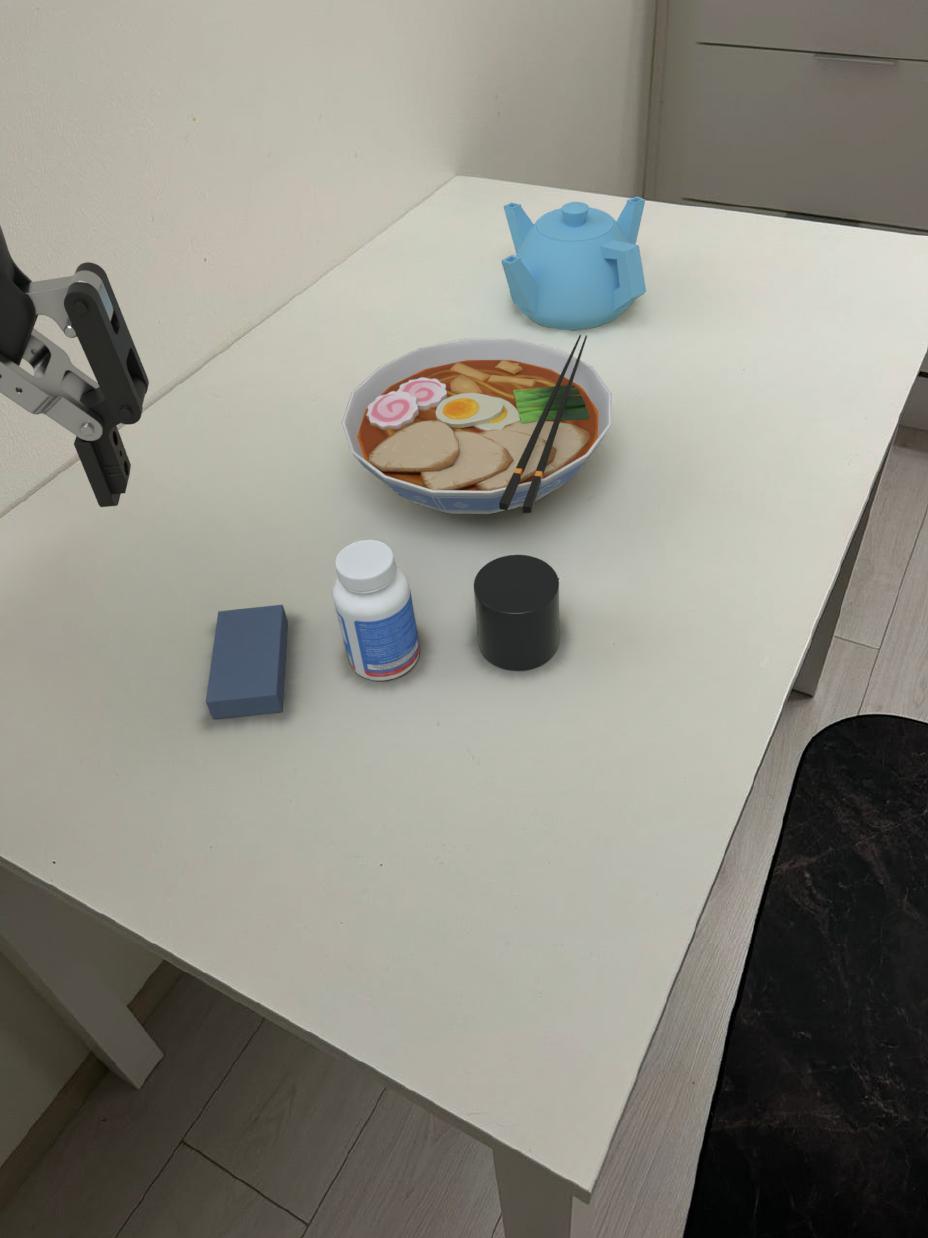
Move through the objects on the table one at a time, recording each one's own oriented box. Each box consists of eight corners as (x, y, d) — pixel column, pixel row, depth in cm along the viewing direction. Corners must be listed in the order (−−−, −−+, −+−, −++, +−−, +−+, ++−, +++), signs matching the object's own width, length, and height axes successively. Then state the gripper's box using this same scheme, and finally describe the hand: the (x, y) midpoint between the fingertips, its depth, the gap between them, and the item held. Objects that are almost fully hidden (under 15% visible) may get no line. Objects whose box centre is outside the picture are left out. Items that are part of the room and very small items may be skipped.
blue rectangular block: (282, 712, 69) (276, 694, 68) (212, 719, 69) (205, 702, 68) (288, 622, 76) (282, 604, 74) (224, 628, 76) (217, 611, 74)
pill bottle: (434, 645, 73) (421, 548, 66) (392, 693, 70) (373, 597, 63) (376, 619, 75) (358, 523, 68) (333, 665, 72) (309, 569, 65)
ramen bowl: (409, 386, 98) (399, 311, 92) (635, 413, 92) (641, 335, 86) (307, 549, 81) (288, 471, 75) (574, 595, 75) (576, 514, 70)
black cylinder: (468, 662, 71) (462, 605, 67) (491, 606, 75) (487, 548, 71) (548, 677, 70) (547, 620, 66) (567, 619, 74) (567, 561, 69)
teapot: (497, 340, 103) (492, 241, 95) (506, 272, 113) (503, 178, 105) (644, 338, 101) (651, 237, 93) (640, 270, 111) (646, 173, 103)
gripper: (-441, 193, 30) (-168, 576, 41) (26, 153, 30) (166, 543, 42) (-326, 109, 35) (-112, 470, 47) (71, 75, 35) (184, 441, 47)
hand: (19, 504), depth 44 cm, fingers open, 8 cm apart
